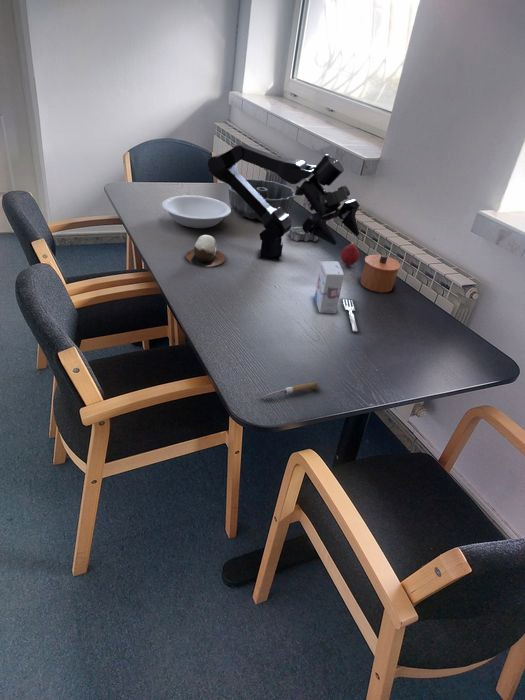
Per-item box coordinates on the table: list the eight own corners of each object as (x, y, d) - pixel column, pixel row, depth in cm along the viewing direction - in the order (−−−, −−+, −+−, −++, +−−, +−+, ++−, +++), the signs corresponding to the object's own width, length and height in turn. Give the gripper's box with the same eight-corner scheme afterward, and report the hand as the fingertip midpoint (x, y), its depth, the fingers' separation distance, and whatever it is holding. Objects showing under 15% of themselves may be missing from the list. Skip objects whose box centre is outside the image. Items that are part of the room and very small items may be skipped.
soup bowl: (241, 232, 172) (243, 214, 168) (180, 240, 160) (181, 221, 156) (209, 210, 188) (210, 193, 184) (151, 215, 175) (150, 197, 171)
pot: (362, 290, 146) (368, 268, 142) (358, 275, 154) (363, 254, 150) (395, 294, 146) (402, 272, 142) (389, 279, 154) (395, 258, 150)
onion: (355, 270, 157) (361, 247, 152) (338, 267, 157) (343, 244, 153) (356, 263, 162) (362, 241, 157) (339, 260, 162) (344, 238, 158)
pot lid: (367, 270, 142) (369, 261, 140) (361, 255, 151) (364, 246, 149) (403, 275, 142) (405, 265, 140) (395, 260, 151) (398, 251, 149)
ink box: (313, 297, 138) (320, 259, 131) (330, 298, 138) (338, 260, 132) (318, 312, 131) (326, 273, 124) (336, 314, 132) (345, 274, 125)
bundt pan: (216, 202, 196) (218, 177, 190) (275, 202, 206) (278, 178, 200) (239, 227, 176) (242, 200, 171) (303, 224, 187) (307, 199, 181)
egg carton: (314, 234, 180) (316, 223, 177) (320, 242, 174) (322, 231, 171) (286, 233, 177) (288, 222, 175) (291, 241, 171) (293, 230, 169)
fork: (360, 333, 125) (360, 331, 124) (349, 331, 125) (350, 330, 124) (352, 301, 139) (352, 299, 138) (342, 300, 139) (342, 298, 138)
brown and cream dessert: (189, 243, 156) (211, 224, 151) (211, 268, 159) (233, 250, 154) (177, 256, 146) (201, 236, 141) (201, 282, 149) (224, 263, 144)
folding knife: (260, 403, 97) (261, 396, 96) (257, 398, 98) (258, 391, 97) (318, 391, 103) (319, 383, 102) (314, 386, 104) (316, 379, 103)
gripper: (305, 186, 130) (336, 232, 127) (353, 170, 139) (384, 213, 136) (289, 211, 140) (318, 255, 137) (335, 196, 149) (363, 236, 146)
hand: (347, 239), depth 139 cm, fingers open, 9 cm apart
